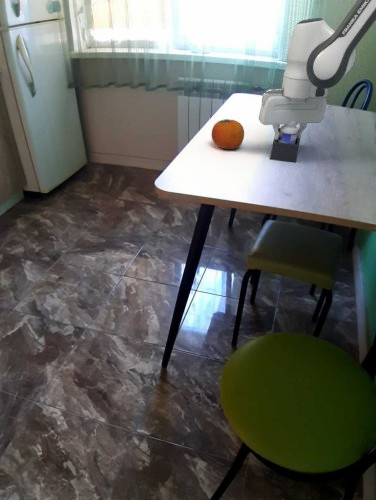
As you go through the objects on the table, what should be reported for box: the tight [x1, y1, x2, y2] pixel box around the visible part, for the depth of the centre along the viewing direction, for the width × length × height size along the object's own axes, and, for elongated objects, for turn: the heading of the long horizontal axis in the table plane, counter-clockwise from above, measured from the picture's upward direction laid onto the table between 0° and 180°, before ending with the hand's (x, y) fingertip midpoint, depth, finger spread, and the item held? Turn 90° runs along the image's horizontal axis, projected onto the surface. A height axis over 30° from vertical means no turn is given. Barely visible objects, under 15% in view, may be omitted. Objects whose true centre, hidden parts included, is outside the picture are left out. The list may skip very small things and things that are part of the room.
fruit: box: [211, 118, 245, 150], centre depth 133 cm, size 11×10×8 cm
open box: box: [269, 127, 301, 164], centre depth 133 cm, size 8×15×5 cm, turn 167°
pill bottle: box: [278, 121, 299, 144], centre depth 128 cm, size 5×5×10 cm
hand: (287, 138), depth 128 cm, fingers closed on pill bottle, 5 cm apart
